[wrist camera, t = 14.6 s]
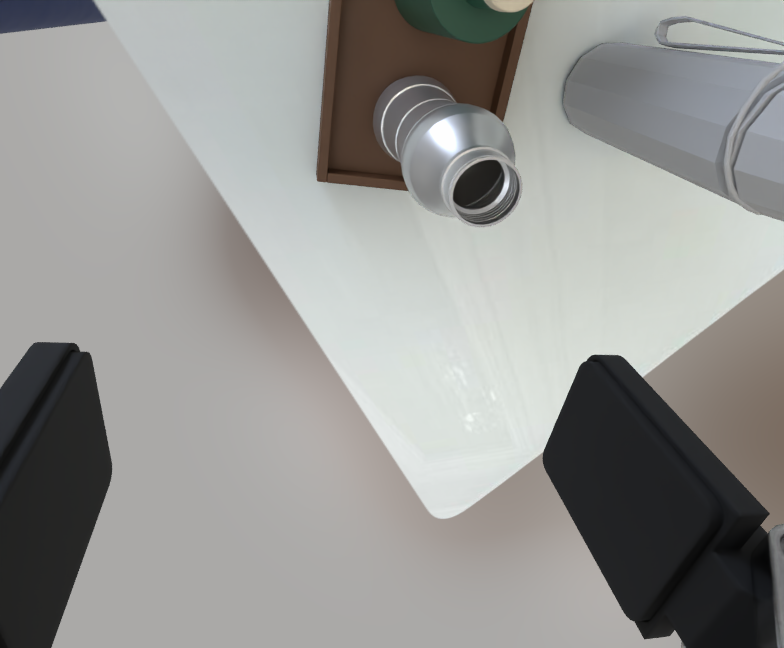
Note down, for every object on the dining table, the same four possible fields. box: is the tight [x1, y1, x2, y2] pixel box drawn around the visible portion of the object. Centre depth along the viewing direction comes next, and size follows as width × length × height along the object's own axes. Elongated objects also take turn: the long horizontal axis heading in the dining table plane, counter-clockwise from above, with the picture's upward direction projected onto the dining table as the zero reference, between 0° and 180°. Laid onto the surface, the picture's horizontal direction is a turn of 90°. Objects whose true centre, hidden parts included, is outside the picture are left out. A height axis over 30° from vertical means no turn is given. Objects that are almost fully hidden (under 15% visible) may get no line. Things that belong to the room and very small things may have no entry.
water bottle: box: [563, 16, 784, 221], centre depth 32 cm, size 9×8×25 cm
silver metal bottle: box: [373, 75, 522, 227], centre depth 33 cm, size 6×7×20 cm
